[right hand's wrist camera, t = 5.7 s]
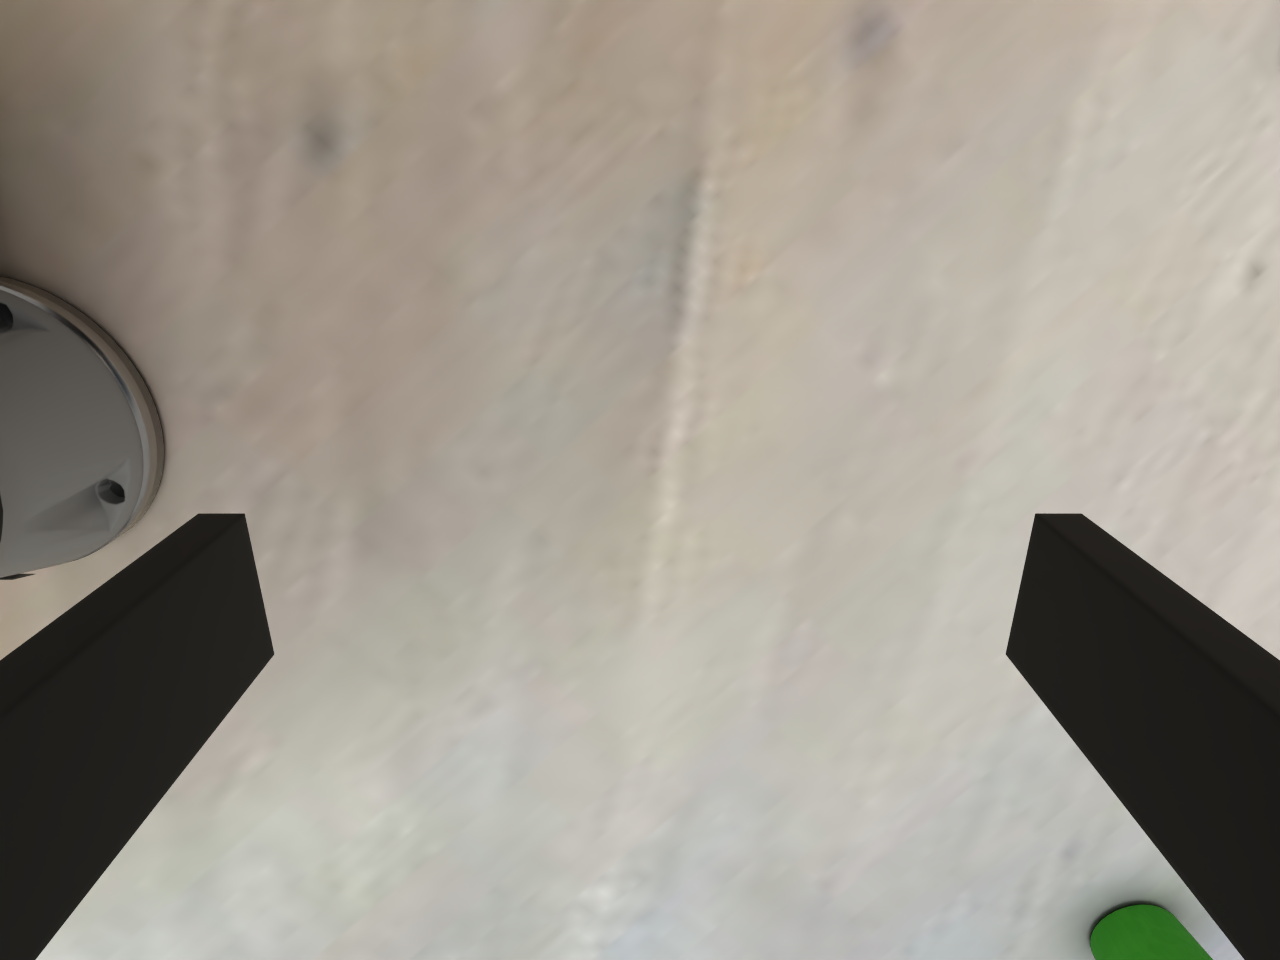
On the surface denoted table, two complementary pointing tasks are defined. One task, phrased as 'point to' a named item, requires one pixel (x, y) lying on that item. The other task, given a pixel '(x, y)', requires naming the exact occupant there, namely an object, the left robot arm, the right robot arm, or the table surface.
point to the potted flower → (1144, 936)
